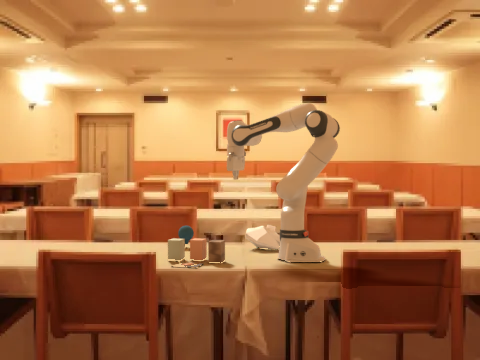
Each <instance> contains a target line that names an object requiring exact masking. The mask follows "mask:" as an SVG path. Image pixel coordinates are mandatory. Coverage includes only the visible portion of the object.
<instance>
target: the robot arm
mask: <svg viewBox="0 0 480 360" xmlns="http://www.w3.org/2000/svg"><path fill="white" fill-rule="evenodd" d="M303 128H306V129H307V131H308V132H309V133H310V136H311V137H312V138H314V141H313V143H312V145H310V147H309V148H308V149H307V151H306V152H305V153H304V154H303V156H302V157H301V158H300V160H299V161H298V162H297V163H296V164H295V165H293V167H292V168H291V169H290V170H288V172H287V173H285V175H284V176H283V177H282V179H281V180H280V181H279V182H277V184H276V187H275V188H276V189H275V190H276V195H277V197H279V198H280V199H281V200H283V202H282V206H281V207H282V208H281V211H280V229H279V236H280V249H279V250H278V254H277V258H279V259H282V260H285V261H290V262H289V263H291V262H320V261H324V260H325V259H326V256H324V255H322V253H321V248H320V246H319V245H318V243H316V242H314V241H313V240H312V239H311V238H309V234H310V233H309V230H306V228H305V210H306V202H307V195H308V194H307V192H308V191H309V190H308V186H309V185H310V184H311V183H312V182H313V181H314V180H315V179H317V178H318V176H319V175H320V174H321V173H322V171H323V170H325V168H326V167H327V166H328V164H329V162H331V160H332V158H333V157H334V155H335V154H336V152H337V150H338V148H339V144H338V141H337V140H336V139H335V138H336V137H337V136H338V135H339V134H340V132H341V131H340V129H341V127H340V124H339V122H338V120H336V119H335V118H334V117H332V115H330V114H329V113H327V112H324V111H323V110H319V109H318V108H317V107H316V106H315V105H314V104H313V103H312V102H306V103H305V102H304V103H302V104H298V105H294V106H292V107H290V108H287V109H285V110H282V111H281V112H279V113H277V114H274V115H273V116H270V117H269V118H265V119H262V120H259V121H256V122H254V123H251V124H247V123H245V122H244V121H243V120H232V121H230V122H229V123H228V124H227V129H226V139H227V144H226V145H227V146H226V156H227V158H226V170H227V171H228V172H232V177H233V178H232V180H234V181H237V180H239V175H240V171H245V168H246V156H247V152H246V151H245V146H249V147H250V146H251V147H253V146H254V147H255V146H257V145H259V144H260V142H262V141H261V140H262V138H263V135H264V134H268V133H291V132H295V131H298V130H301V129H303ZM285 261H284V262H285ZM325 261H326V260H325ZM325 261H324V262H325Z"/></svg>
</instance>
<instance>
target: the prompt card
mask: <svg viewBox="0 0 480 360" xmlns="http://www.w3.org/2000/svg"><path fill="white" fill-rule="evenodd" d="M194 263H195V262H186V263H182V264H181V265H184V266H185V267H186V266H187V267H198V266H200V265H202V264H205V263H203V262H198V263H199V264H197V265H194ZM191 265H194V266H191ZM202 266H203V265H202ZM200 267H201V266H200Z"/></svg>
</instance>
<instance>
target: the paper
mask: <svg viewBox="0 0 480 360" xmlns="http://www.w3.org/2000/svg"><path fill="white" fill-rule="evenodd" d="M276 229H277V226H275V225H272V224H268V223H267V225H266V226H265V225H259V226H256V227H248V228H247V229H246V231H245V235H244V238H245V240H247V241H249V242H250V243H251V244H252V245H253V246H255V247H256V248H257V247H259V248H268V249H280V247H279V246H280V234H279V233H278V232H276Z"/></svg>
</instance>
